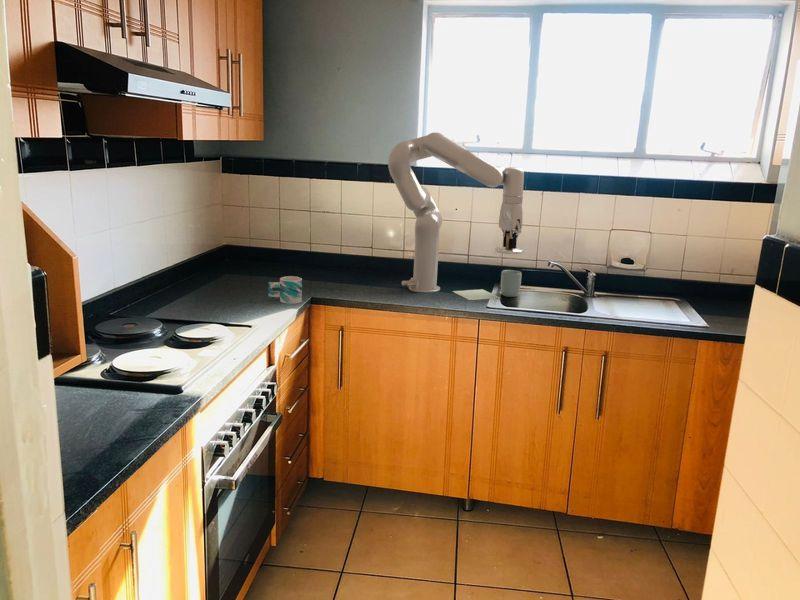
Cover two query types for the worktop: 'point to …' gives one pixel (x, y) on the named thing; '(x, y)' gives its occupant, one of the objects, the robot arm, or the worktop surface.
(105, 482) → the worktop surface
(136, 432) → the worktop surface
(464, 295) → the mat
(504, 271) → the cup
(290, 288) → the mug
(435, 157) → the robot arm
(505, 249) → the lid
